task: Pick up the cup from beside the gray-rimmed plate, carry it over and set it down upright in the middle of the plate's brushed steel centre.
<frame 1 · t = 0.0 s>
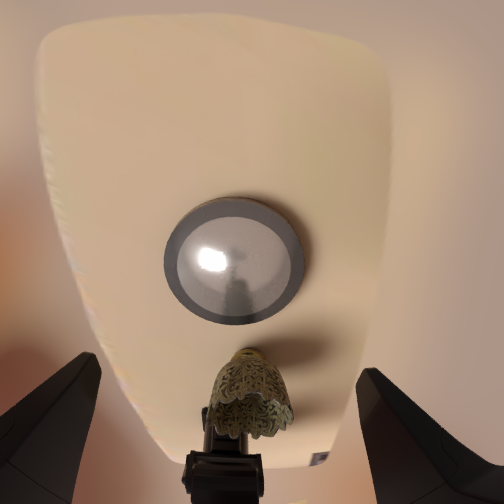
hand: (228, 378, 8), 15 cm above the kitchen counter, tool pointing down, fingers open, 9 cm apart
gray-rimmed plate: (233, 263, 23), on the kitchen counter
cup: (248, 356, 28), on the kitchen counter
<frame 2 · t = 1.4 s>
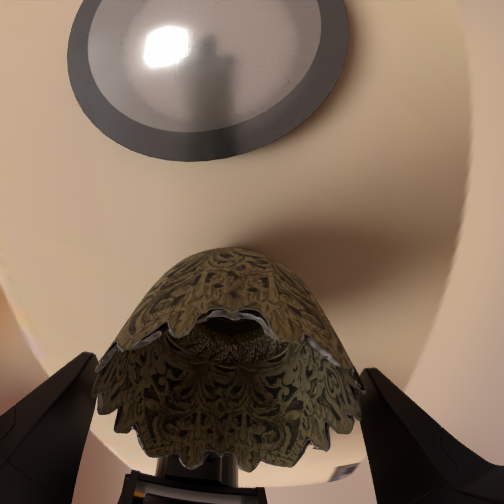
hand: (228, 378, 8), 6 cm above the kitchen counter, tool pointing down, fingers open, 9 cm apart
gray-rimmed plate: (201, 29, 8), on the kitchen counter
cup: (233, 276, 14), on the kitchen counter
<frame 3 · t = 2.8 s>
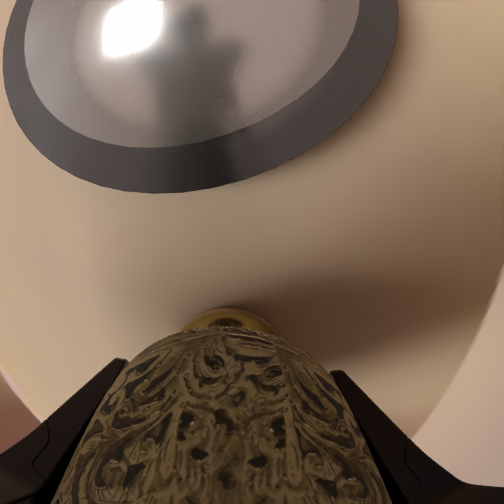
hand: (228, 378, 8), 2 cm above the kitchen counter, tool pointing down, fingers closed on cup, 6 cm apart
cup: (230, 335, 10), on the kitchen counter, touching gripper
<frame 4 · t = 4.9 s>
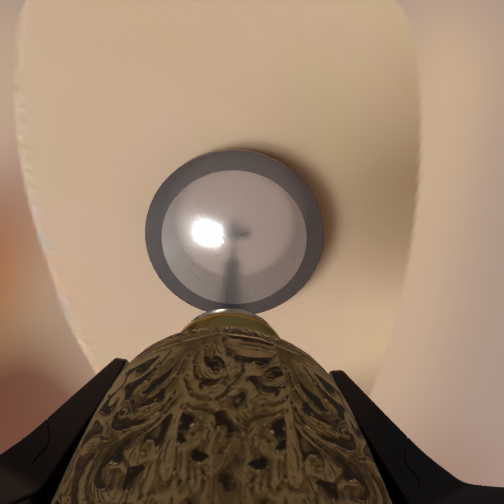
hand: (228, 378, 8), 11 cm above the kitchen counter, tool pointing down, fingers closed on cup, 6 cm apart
gray-rimmed plate: (234, 235, 18), on the kitchen counter
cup: (230, 336, 10), point 9 cm above the kitchen counter, touching gripper
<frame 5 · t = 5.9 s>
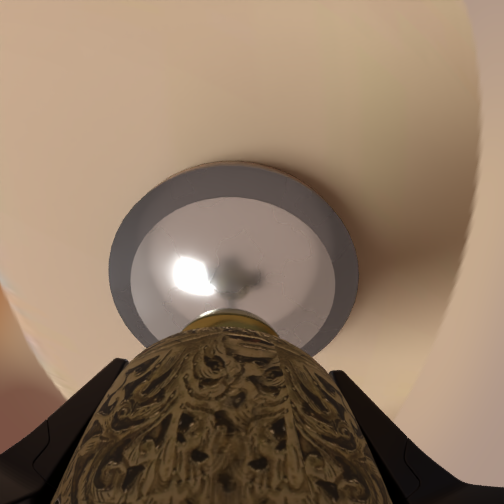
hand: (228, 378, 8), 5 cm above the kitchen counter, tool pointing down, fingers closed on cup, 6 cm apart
gray-rimmed plate: (232, 283, 13), on the kitchen counter
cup: (230, 335, 10), point 3 cm above the kitchen counter, touching gripper
when the fingers open (4 cm above the kitchen counter, at t = 7.0 s): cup drops 1 cm, resting on gray-rimmed plate.
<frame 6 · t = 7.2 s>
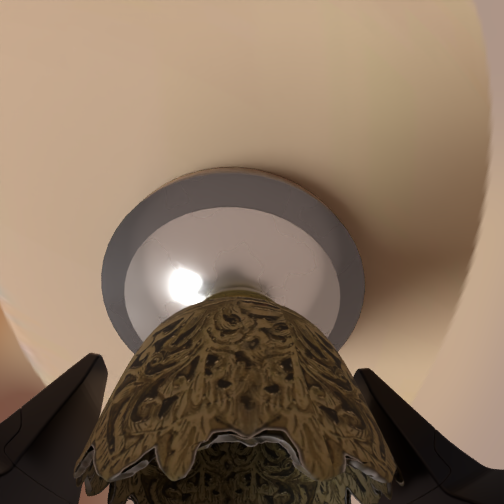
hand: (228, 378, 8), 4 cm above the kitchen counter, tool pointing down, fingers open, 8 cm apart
gray-rimmed plate: (231, 296, 12), on the kitchen counter
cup: (239, 314, 11), point 1 cm above the kitchen counter, touching gray-rimmed plate
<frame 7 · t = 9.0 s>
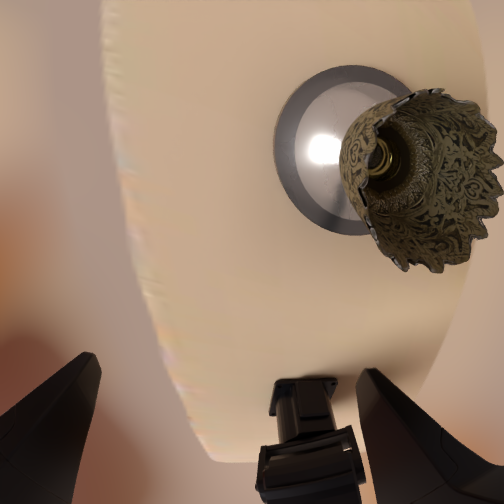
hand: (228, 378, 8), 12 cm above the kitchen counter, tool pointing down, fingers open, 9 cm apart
gray-rimmed plate: (357, 149, 17), on the kitchen counter
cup: (368, 154, 16), point 1 cm above the kitchen counter, touching gray-rimmed plate
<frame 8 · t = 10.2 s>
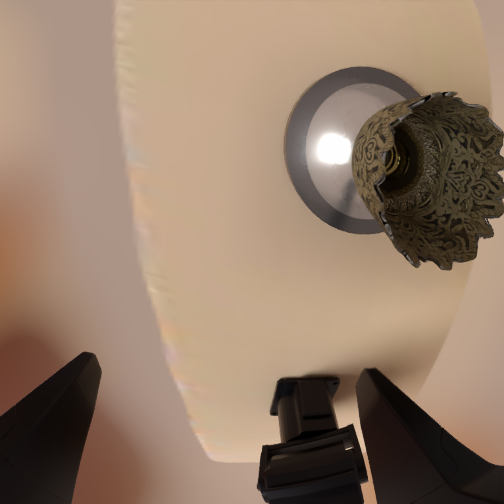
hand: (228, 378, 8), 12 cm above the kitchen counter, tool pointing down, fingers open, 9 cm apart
gray-rimmed plate: (366, 150, 17), on the kitchen counter
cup: (377, 154, 16), point 1 cm above the kitchen counter, touching gray-rimmed plate
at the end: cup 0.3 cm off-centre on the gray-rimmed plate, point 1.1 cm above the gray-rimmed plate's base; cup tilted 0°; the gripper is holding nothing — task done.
